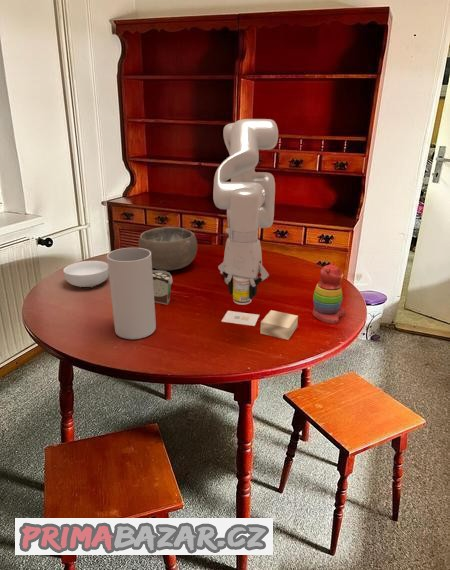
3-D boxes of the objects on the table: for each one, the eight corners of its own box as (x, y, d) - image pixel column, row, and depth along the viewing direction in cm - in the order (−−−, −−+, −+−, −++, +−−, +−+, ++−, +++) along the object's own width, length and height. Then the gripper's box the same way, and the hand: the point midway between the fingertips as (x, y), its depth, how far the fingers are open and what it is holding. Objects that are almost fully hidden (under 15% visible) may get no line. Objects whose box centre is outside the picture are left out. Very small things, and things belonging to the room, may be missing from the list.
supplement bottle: (240, 295, 128) (241, 263, 124) (255, 300, 125) (257, 268, 121) (228, 301, 124) (229, 268, 120) (243, 307, 121) (244, 273, 117)
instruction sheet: (221, 321, 140) (221, 321, 140) (227, 311, 147) (227, 310, 147) (254, 326, 137) (254, 325, 137) (259, 315, 144) (259, 314, 144)
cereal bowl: (116, 277, 175) (115, 260, 172) (101, 293, 160) (99, 276, 157) (76, 275, 176) (74, 259, 174) (58, 291, 161) (55, 274, 158)
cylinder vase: (134, 317, 142) (127, 245, 132) (164, 327, 136) (159, 252, 127) (106, 333, 132) (97, 256, 122) (137, 344, 126) (131, 264, 117)
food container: (180, 298, 156) (179, 273, 152) (171, 305, 151) (169, 279, 147) (151, 292, 161) (149, 267, 157) (141, 299, 155) (139, 273, 152)
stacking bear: (336, 325, 138) (342, 273, 131) (306, 317, 143) (311, 267, 136) (346, 312, 146) (353, 263, 139) (318, 305, 151) (323, 257, 144)
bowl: (156, 255, 200) (154, 223, 194) (205, 261, 193) (205, 228, 187) (130, 273, 179) (127, 238, 173) (184, 280, 172) (183, 244, 166)
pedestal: (260, 333, 133) (260, 321, 131) (270, 321, 140) (271, 310, 139) (288, 339, 129) (289, 328, 128) (297, 327, 137) (298, 315, 135)
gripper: (209, 234, 117) (209, 294, 124) (268, 243, 110) (265, 306, 117) (221, 227, 123) (221, 284, 130) (278, 235, 116) (275, 295, 123)
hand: (242, 294), depth 124 cm, fingers closed on supplement bottle, 5 cm apart
